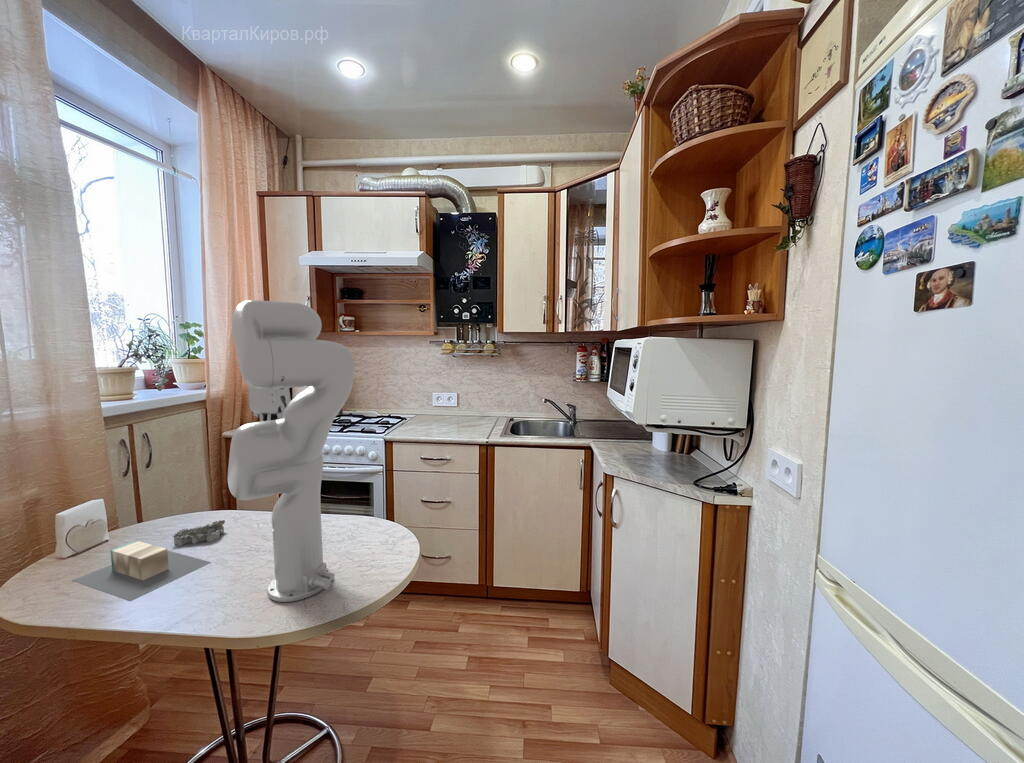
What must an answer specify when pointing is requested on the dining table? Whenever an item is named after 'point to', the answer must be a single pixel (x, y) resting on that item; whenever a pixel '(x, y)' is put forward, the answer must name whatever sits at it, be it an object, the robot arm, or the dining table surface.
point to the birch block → (139, 560)
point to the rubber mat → (135, 587)
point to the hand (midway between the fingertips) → (271, 438)
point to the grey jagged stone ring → (199, 533)
